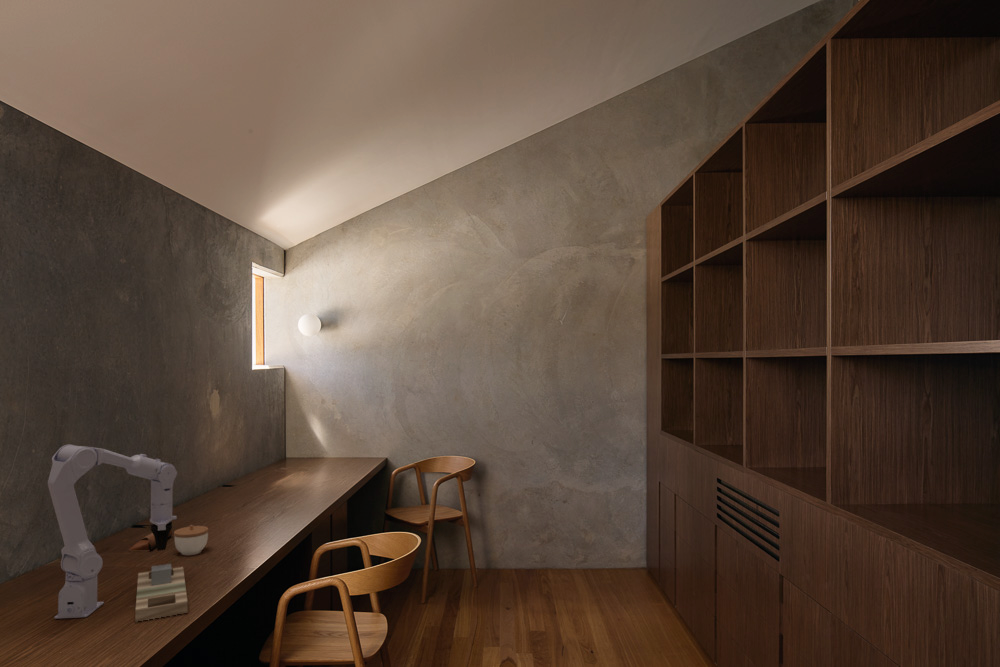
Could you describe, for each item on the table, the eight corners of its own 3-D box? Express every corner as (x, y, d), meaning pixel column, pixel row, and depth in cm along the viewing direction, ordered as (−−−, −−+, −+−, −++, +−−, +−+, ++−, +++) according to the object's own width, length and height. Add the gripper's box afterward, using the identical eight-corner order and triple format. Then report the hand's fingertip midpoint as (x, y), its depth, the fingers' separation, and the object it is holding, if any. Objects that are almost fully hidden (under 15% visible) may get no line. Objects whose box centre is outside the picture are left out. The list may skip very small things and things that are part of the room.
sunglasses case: (148, 537, 241) (158, 521, 241) (165, 546, 241) (175, 530, 242) (125, 552, 223) (136, 535, 223) (144, 562, 223) (154, 545, 224)
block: (171, 582, 185) (171, 568, 185) (151, 585, 183) (151, 571, 183) (170, 577, 190) (171, 563, 190) (151, 580, 187) (151, 566, 187)
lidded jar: (213, 547, 228) (213, 520, 228) (200, 557, 217) (200, 529, 218) (182, 548, 228) (182, 521, 228) (167, 557, 217) (168, 529, 217)
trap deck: (187, 613, 171) (187, 602, 171) (135, 622, 165) (135, 610, 165) (182, 576, 199) (182, 566, 199) (138, 582, 194) (138, 572, 194)
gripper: (177, 506, 189) (177, 553, 188) (176, 496, 201) (175, 540, 201) (149, 509, 185) (149, 557, 185) (150, 499, 198) (149, 543, 198)
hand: (161, 548), depth 193 cm, fingers closed
